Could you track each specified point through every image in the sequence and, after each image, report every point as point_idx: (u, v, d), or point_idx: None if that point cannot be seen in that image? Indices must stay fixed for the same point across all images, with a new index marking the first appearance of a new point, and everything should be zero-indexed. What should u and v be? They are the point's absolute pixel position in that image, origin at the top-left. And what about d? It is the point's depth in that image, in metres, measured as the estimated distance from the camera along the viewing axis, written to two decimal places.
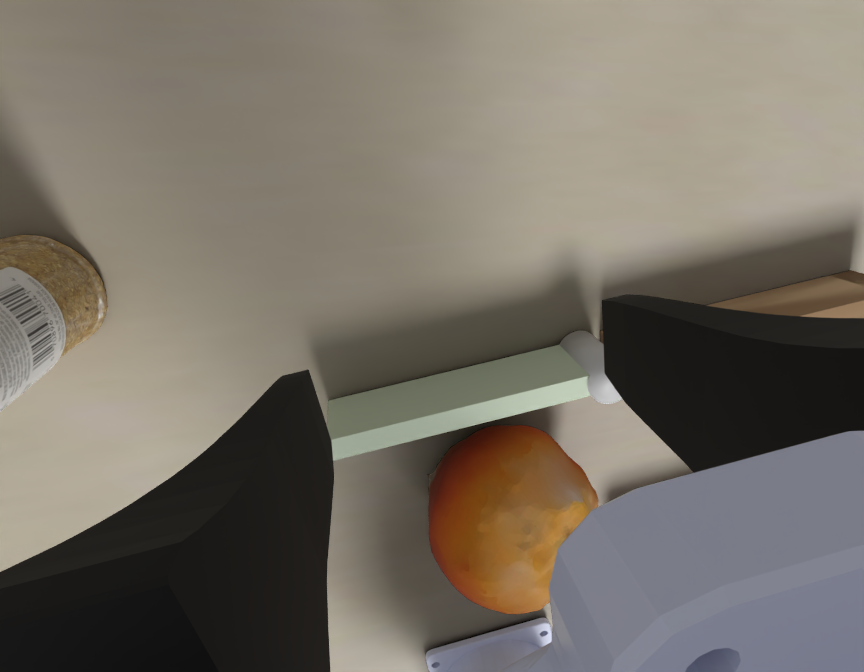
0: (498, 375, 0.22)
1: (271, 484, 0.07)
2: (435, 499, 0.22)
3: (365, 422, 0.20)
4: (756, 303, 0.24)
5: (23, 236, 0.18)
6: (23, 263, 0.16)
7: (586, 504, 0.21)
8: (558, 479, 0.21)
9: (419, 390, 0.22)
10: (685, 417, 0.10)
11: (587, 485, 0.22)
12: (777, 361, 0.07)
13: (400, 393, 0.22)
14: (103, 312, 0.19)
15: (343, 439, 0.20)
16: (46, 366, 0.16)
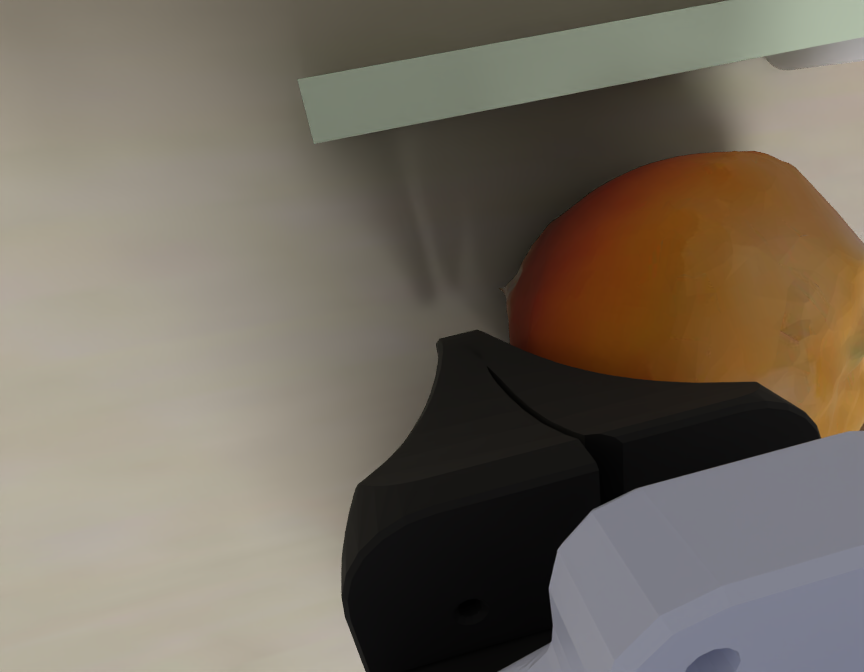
0: None
1: None
2: (538, 285, 0.10)
3: None
4: None
5: None
6: None
7: None
8: (834, 210, 0.09)
9: None
10: None
11: None
12: None
13: None
14: None
15: (340, 82, 0.08)
16: None
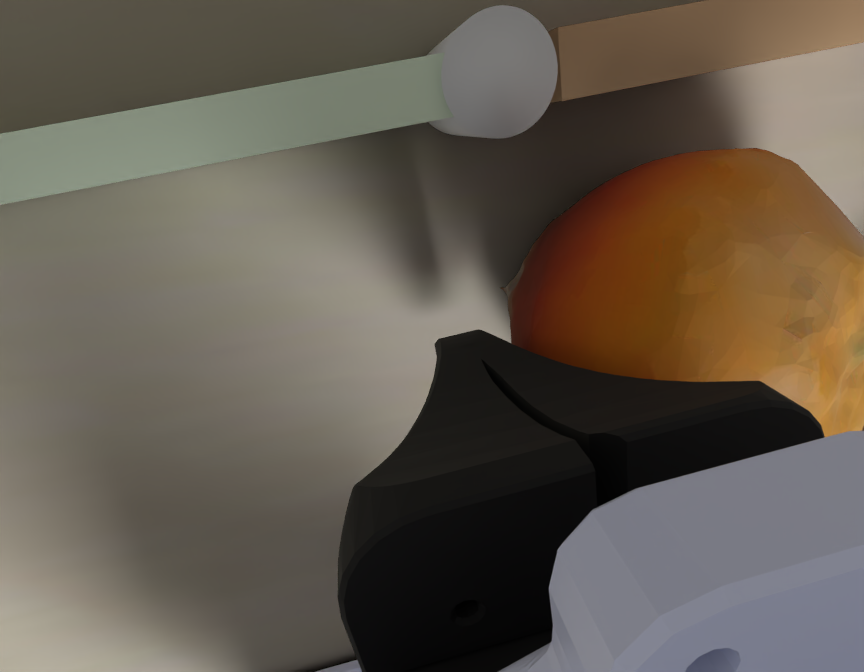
0: None
1: None
2: (539, 284, 0.10)
3: None
4: None
5: None
6: None
7: None
8: (836, 207, 0.09)
9: None
10: None
11: None
12: None
13: None
14: None
15: None
16: None
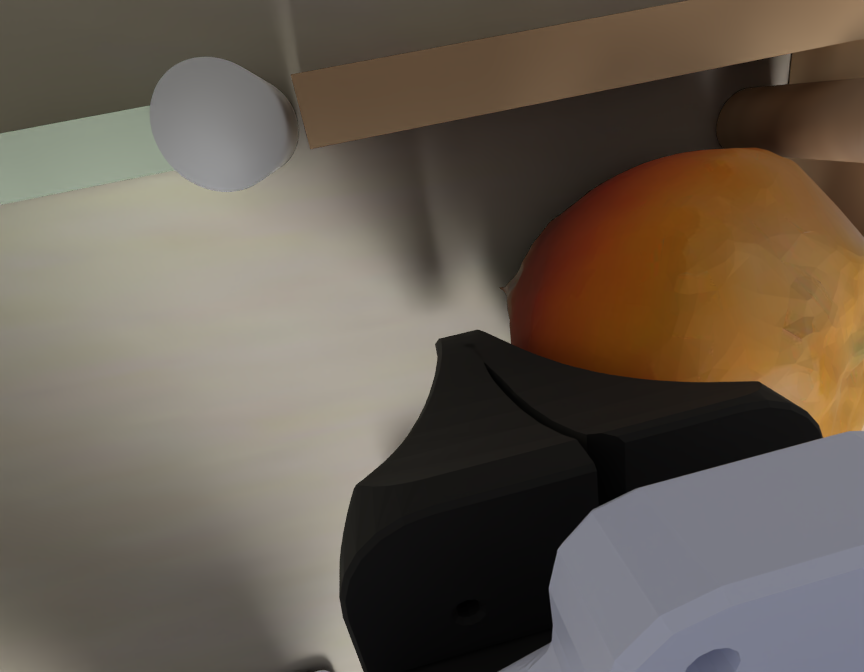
0: None
1: None
2: (538, 284, 0.10)
3: None
4: None
5: None
6: None
7: None
8: (836, 206, 0.09)
9: None
10: None
11: None
12: None
13: None
14: None
15: None
16: None
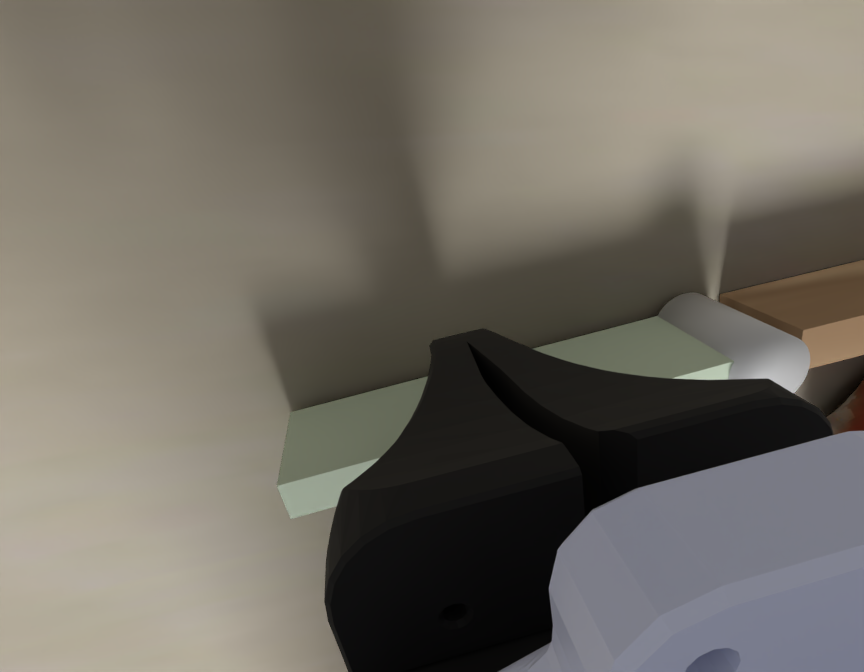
0: None
1: None
2: None
3: (347, 450, 0.12)
4: None
5: None
6: None
7: None
8: None
9: None
10: None
11: None
12: (540, 421, 0.07)
13: (406, 399, 0.13)
14: None
15: (308, 482, 0.11)
16: None
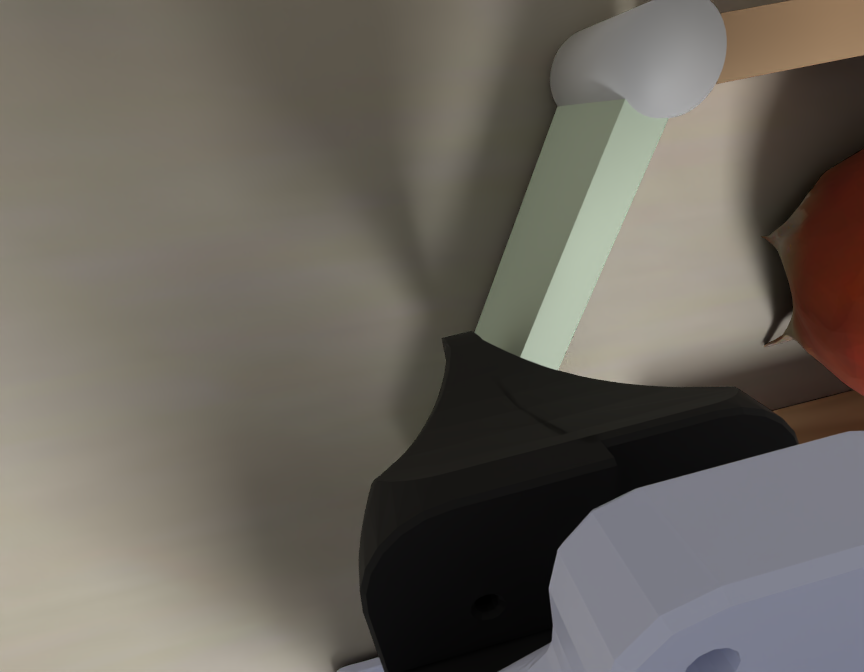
0: (525, 253, 0.12)
1: None
2: None
3: None
4: None
5: None
6: None
7: None
8: None
9: None
10: None
11: None
12: None
13: None
14: None
15: None
16: None
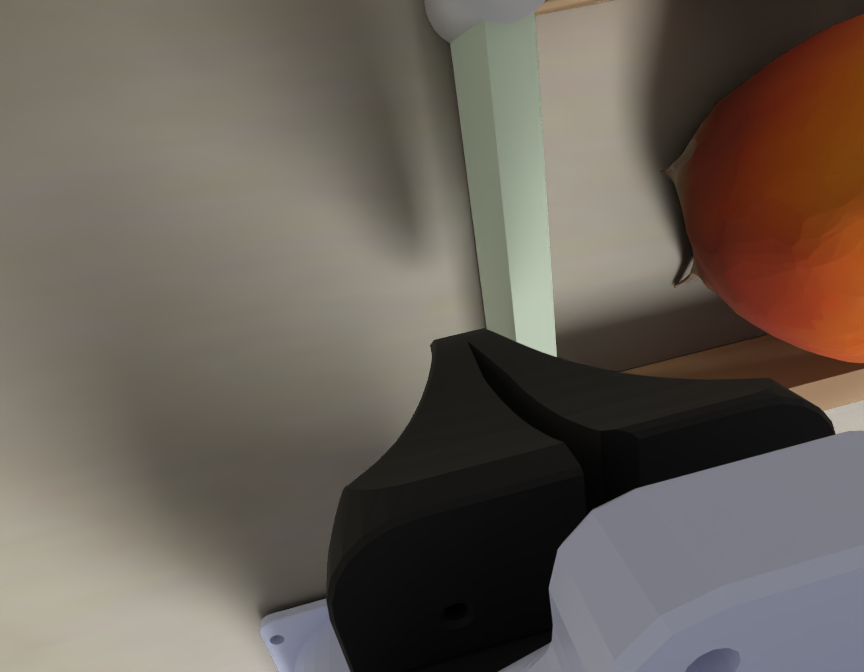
0: (481, 193, 0.12)
1: None
2: (739, 137, 0.11)
3: None
4: None
5: None
6: None
7: None
8: None
9: (493, 316, 0.14)
10: None
11: None
12: (542, 421, 0.07)
13: None
14: None
15: None
16: None
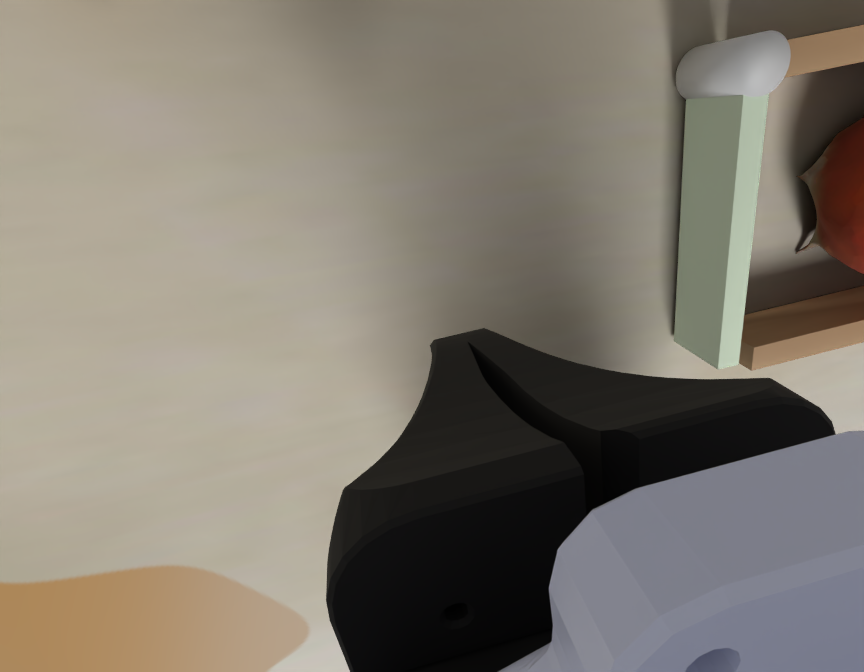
0: (703, 188, 0.20)
1: None
2: None
3: (710, 331, 0.22)
4: None
5: None
6: None
7: None
8: None
9: (692, 268, 0.22)
10: None
11: None
12: (542, 421, 0.07)
13: (689, 285, 0.23)
14: None
15: (722, 355, 0.22)
16: None
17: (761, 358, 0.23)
